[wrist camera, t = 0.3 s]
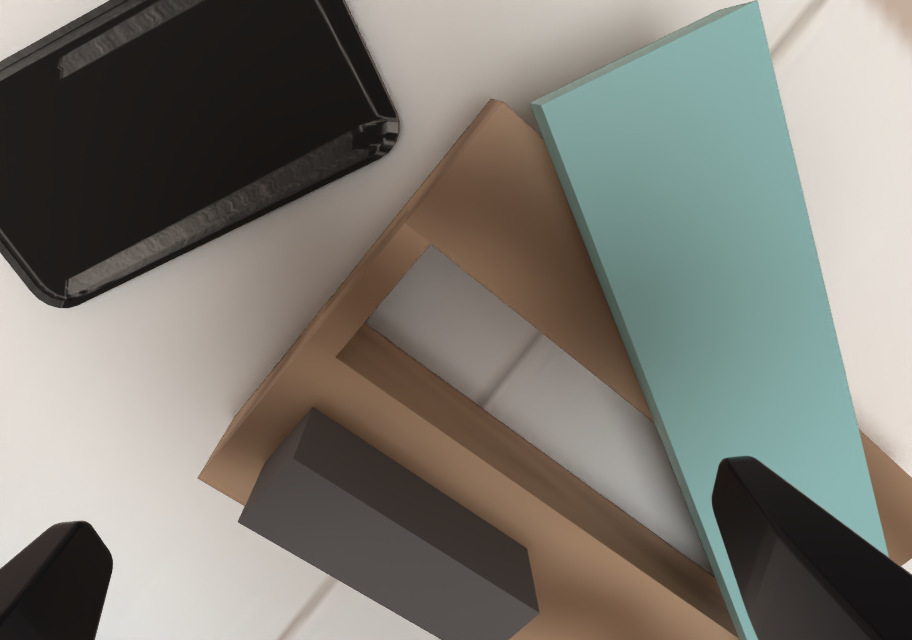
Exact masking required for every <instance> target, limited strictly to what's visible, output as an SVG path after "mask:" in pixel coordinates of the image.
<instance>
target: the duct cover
mask: <svg viewBox="0 0 912 640" xmlns="http://www.w3.org/2000/svg"><path fill="white" fill-rule="evenodd" d="M530 106H531V108H532V111H533V113H534V116H535V119H536V121H537V124H538V126H539V129H540V131H541V134H542V136H543V139H544V142H545V144H546V147H547V149H548V152H549V154H550V157H551V159H552V162H553V165H554V167H555V170H556V172H557V175H558V177H559V180H560V182H561V185H562V187H563V190H564V193H565V195H566V198H567V200H568V203H569V205H570V208H571V210H572V213H573V216H574V218H575V221H576V223H577V226H578V228H579V231H580V233H581V236H582V239H583V241H584V244H585V246H586V249H587V251H588V254H589V256H590V259H591V262H592V264H593V267H594V269H595V272H596V274H597V277H598V279H599V282H600V284H601V287H602V290H603V292H604V295H605V297H606V300H607V302H608V305H609V307H610V310H611V313H612V315H613V318H614V320H615V323H616V325H617V328H618V330H619V333H620V336H621V338H622V341H623V343H624V346H625V348H626V351H627V353H628V356H629V358H630V361H631V364H632V366H633V369H634V371H635V374H636V376H637V379H638V381H639V384H640V387H641V389H642V392H643V394H644V397H645V399H646V402H647V404H648V407H649V410H650V412H651V415H652V417H653V420H654V422H655V425H656V427H657V430H658V432H659V435H660V438H661V440H662V443H663V445H664V448H665V450H666V453H667V455H668V458H669V461H670V463H671V466H672V468H673V471H674V473H675V476H676V478H677V481H678V484H679V486H680V489H681V491H682V494H683V496H684V499H685V501H686V504H687V507H688V509H689V512H690V514H691V517H692V519H693V522H694V524H695V527H696V529H697V532H698V535H699V537H700V540H701V542H702V545H703V547H704V550H705V552H706V555H707V558H708V560H709V563H710V565H711V568H712V570H713V573H714V575H715V578H716V581H717V583H718V586H719V588H720V591H721V593H722V596H723V598H724V601H725V603H726V606H727V609H728V611H729V614H730V616H731V619H732V621H733V624H734V626H735V629H736V632H737V634H738V637H739V639H740V640H758V638H757V636H756V634H755V631H754V629H753V627H752V624H751V622H750V619H749V617H748V614H747V611H746V609H745V606H744V603H743V600H742V597H741V594H740V591H739V588H738V585H737V582H736V579H735V576H734V573H733V570H732V567H731V564H730V561H729V558H728V555H727V552H726V549H725V546H724V543H723V540H722V537H721V534H720V531H719V528H718V525H717V522H716V519H715V516H714V512H713V508H712V492H713V487H714V483H715V479H716V474H717V470H718V466H719V463H720V461H721V460H722V459H724V458H728V457H738V456H752V457H754V458H756V459H758V460H759V461H760V462H762V463H763V464H764V465H766V466H767V467H769V468H770V469H771V470H773V471H774V472H775V473H777V474H778V475H779V476H781V477H782V478H783V479H785V480H786V481H787V482H789V483H790V484H791V485H793V486H794V487H795V488H797V489H798V490H799V491H801V492H802V493H803V494H805V495H806V496H807V497H809V498H810V499H811V500H813V501H814V502H815V503H817V504H818V505H819V506H821V507H822V508H823V509H825V510H826V511H827V512H829V513H830V514H831V515H833V516H834V517H835V518H837V519H838V520H839V521H841V522H842V523H843V524H845V525H846V526H847V527H849V528H850V529H851V530H853V531H854V532H856V533H857V534H858V535H860V536H861V537H862V538H864V539H865V540H866V541H868V542H869V543H870V544H872V545H873V546H874V547H876V548H877V549H878V550H880V551H881V552H882V553H884V554H885V555H886V556H888V551H887V547H886V543H885V539H884V534H883V530H882V526H881V522H880V517H879V513H878V509H877V505H876V500H875V496H874V492H873V488H872V484H871V479H870V475H869V471H868V467H867V462H866V458H865V454H864V450H863V445H862V441H861V437H860V433H859V428H858V424H857V420H856V416H855V412H854V407H853V403H852V399H851V395H850V390H849V386H848V382H847V378H846V373H845V369H844V365H843V361H842V357H841V352H840V348H839V344H838V340H837V335H836V331H835V327H834V323H833V318H832V314H831V310H830V306H829V301H828V297H827V293H826V289H825V285H824V280H823V276H822V272H821V268H820V263H819V259H818V255H817V251H816V246H815V242H814V238H813V234H812V229H811V225H810V221H809V217H808V213H807V208H806V204H805V200H804V196H803V191H802V187H801V183H800V179H799V174H798V170H797V166H796V162H795V158H794V153H793V149H792V145H791V141H790V136H789V132H788V128H787V124H786V119H785V115H784V111H783V107H782V102H781V98H780V94H779V90H778V86H777V81H776V77H775V73H774V69H773V64H772V60H771V56H770V52H769V47H768V43H767V39H766V35H765V30H764V26H763V22H762V18H761V14H760V9H759V5H758V1H757V0H756V1H752V2H748V3H745V4H741V5H737V6H733V7H729V8H725V9H721V10H718V11H716V12H714V13H712V14H710V15H708V16H706V17H704V18H702V19H700V20H698V21H696V22H694V23H692V24H690V25H688V26H686V27H684V28H682V29H679V30H677V31H675V32H673V33H671V34H669V35H667V36H665V37H663V38H661V39H659V40H657V41H655V42H653V43H651V44H649V45H647V46H645V47H643V48H641V49H639V50H637V51H634V52H632V53H630V54H628V55H626V56H624V57H622V58H620V59H618V60H616V61H614V62H612V63H610V64H608V65H606V66H604V67H602V68H600V69H598V70H596V71H594V72H591V73H589V74H587V75H585V76H583V77H581V78H579V79H577V80H575V81H573V82H571V83H569V84H567V85H565V86H563V87H561V88H559V89H557V90H555V91H553V92H551V93H548V94H546V95H544V96H542V97H540V98H538V99H536V100H534V101H532V102H530ZM888 557H889V556H888Z"/></svg>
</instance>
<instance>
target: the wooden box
mask: <svg viewBox="0 0 912 640" xmlns="http://www.w3.org/2000/svg"><path fill="white" fill-rule="evenodd" d="M430 244H432V245H433V246H434V247H435V248H437V249H438V250H439V251H440V252H442V253H443V254H444V255H445V256H447V257H448V258H449V259H450V260H452V261H453V262H454V263H455V264H457V265H458V266H459V267H460V268H462V269H463V270H464V271H465V272H467V273H468V274H469V275H470V276H472V277H473V278H474V279H475V280H477V281H478V282H479V283H480V284H482V285H483V286H484V287H485V288H487V289H488V290H489V291H490V292H492V293H493V294H494V295H495V296H497V297H498V298H499V299H500V300H502V301H503V302H504V303H505V304H507V305H508V306H509V307H510V308H512V309H513V310H514V311H515V312H517V313H518V314H519V315H520V316H522V317H523V318H524V319H525V320H527V321H528V322H529V323H530V324H532V325H533V326H534V327H535V328H537V329H538V330H539V331H540V332H542V333H543V334H544V335H545V336H547V337H548V338H549V339H550V340H552V341H553V342H554V343H555V344H557V345H558V346H559V347H560V348H562V349H563V350H564V351H565V352H567V353H568V354H569V355H570V356H572V357H573V358H574V359H575V360H577V361H578V362H579V363H580V364H582V365H583V366H584V367H585V368H587V369H588V370H589V371H590V372H592V373H593V374H594V375H595V376H597V377H598V378H599V379H600V380H602V381H603V382H604V383H605V384H607V385H608V386H609V387H610V388H612V389H613V390H614V391H615V392H617V393H618V394H619V395H620V396H622V397H623V398H624V399H625V400H627V401H628V402H629V403H630V404H632V405H633V406H634V407H635V408H637V409H638V410H639V411H640V412H642V413H643V414H644V415H645V416H647V417H648V418H649V419H650V420H652V421H653V422H654V420H653V417H652V415H651V412H650V410H649V407H648V404H647V402H646V399H645V397H644V394H643V392H642V389H641V387H640V384H639V381H638V379H637V376H636V374H635V371H634V369H633V366H632V364H631V361H630V358H629V356H628V353H627V351H626V348H625V346H624V343H623V341H622V338H621V336H620V333H619V330H618V328H617V325H616V323H615V320H614V318H613V315H612V313H611V310H610V307H609V305H608V302H607V300H606V297H605V295H604V292H603V290H602V287H601V284H600V282H599V279H598V277H597V274H596V272H595V269H594V267H593V264H592V262H591V259H590V256H589V254H588V251H587V249H586V246H585V244H584V241H583V239H582V236H581V233H580V231H579V228H578V226H577V223H576V221H575V218H574V216H573V213H572V210H571V208H570V205H569V203H568V200H567V198H566V195H565V193H564V190H563V187H562V185H561V182H560V180H559V177H558V175H557V172H556V170H555V167H554V165H553V162H552V159H551V157H550V154H549V152H548V149H547V147H546V144H545V142H544V139H543V138H542V137H541V136H540V135H539V134H537V133H536V132H535V131H534V130H533V129H532V128H531V127H530V126H529V125H528V124H527V123H525V122H524V121H523V120H522V119H521V118H520V117H519V116H518V115H517V114H516V113H515V112H514V111H512V110H511V109H510V108H509V107H508V106H507V105H506V104H505V103H504V102H501V101H497V100H494V99H490V101H489V102H488V103H487V104H486V106H485V107H484V108H483V109H482V111H481V112H480V113H479V114H478V116H477V117H476V118H475V119H474V121H473V122H472V123H471V124H470V126H469V127H468V128H467V129H466V131H465V132H464V133H463V134H462V136H461V137H460V138H459V139H458V140H457V142H456V143H455V144H454V145H453V147H452V148H451V149H450V150H449V152H448V153H447V154H446V155H445V157H444V158H443V159H442V160H441V162H440V163H439V164H438V165H437V167H436V168H435V169H434V170H433V172H432V173H431V174H430V175H429V176H428V178H427V179H426V180H425V181H424V183H423V184H422V185H421V186H420V188H419V189H418V190H417V191H416V193H415V194H414V195H413V196H412V198H411V199H410V200H409V201H408V203H407V204H406V205H405V206H404V208H403V209H402V210H401V211H400V213H399V214H398V215H397V216H396V217H395V219H394V220H393V221H392V222H391V224H390V225H389V226H388V227H387V229H386V230H385V231H384V232H383V234H382V235H381V236H380V237H379V239H378V240H377V241H376V242H375V244H374V245H373V246H372V247H371V249H370V250H369V251H368V252H367V254H366V255H365V256H364V257H363V258H362V260H361V261H360V262H359V263H358V265H357V266H356V267H355V268H354V270H353V271H352V272H351V273H350V275H349V276H348V277H347V278H346V280H345V281H344V282H343V283H342V285H341V286H340V287H339V288H338V290H337V291H336V292H335V293H334V295H333V296H332V297H331V298H330V299H329V301H328V302H327V303H326V304H325V306H324V307H323V308H322V309H321V311H320V312H319V313H318V314H317V316H316V317H315V318H314V319H313V321H312V322H311V323H310V324H309V326H308V327H307V328H306V329H305V331H304V332H303V333H302V334H301V335H300V337H299V338H298V339H297V340H296V342H295V343H294V344H293V345H292V347H291V348H290V349H289V350H288V352H287V353H286V354H285V355H284V357H283V358H282V359H281V360H280V362H279V363H278V364H277V365H276V367H275V368H274V369H273V370H272V372H271V373H270V374H269V375H268V376H267V378H266V379H265V380H264V381H263V383H262V384H261V385H260V386H259V388H258V389H257V390H256V391H255V393H254V394H253V395H252V396H251V398H250V399H249V400H248V401H247V403H246V404H245V405H244V406H243V408H242V409H241V410H240V411H239V413H238V414H237V415H236V416H235V417H234V419H233V420H232V422H231V424H230V425H229V427H228V429H227V430H226V432H225V433H224V435H223V437H222V438H221V440H220V442H219V443H218V445H217V447H216V448H215V450H214V452H213V453H212V455H211V457H210V458H209V460H208V462H207V463H206V465H205V467H204V468H203V470H202V472H201V473H200V475H199V477H198V479H200V480H201V481H203V482H205V483H206V484H208V485H210V486H211V487H213V488H215V489H217V490H218V491H220V492H222V493H223V494H225V495H227V496H228V497H230V498H232V499H234V500H235V501H237V502H239V503H240V504H242V505H244V506H245V505H246V503H247V500H248V498H249V496H250V494H251V492H252V489H253V487H254V485H255V483H256V481H257V478H258V476H259V474H260V472H261V469H262V467H263V465H264V463H265V462H266V461H267V460H268V459H269V457H270V456H271V455H272V454H273V453H274V452H275V450H276V449H277V448H278V447H279V446H280V444H281V443H282V442H283V441H284V440H285V439H286V437H287V436H288V435H289V434H290V433H291V432H292V430H293V429H294V428H295V427H296V426H297V425H298V423H299V422H300V421H301V420H302V419H303V417H304V416H305V415H306V414H307V413H308V412H309V410H310V409H311V408H312V407H314V408H316V409H317V410H319V411H320V412H322V413H323V414H325V415H326V416H328V417H329V418H331V419H332V420H334V421H335V422H337V423H338V424H340V425H341V426H343V427H344V428H346V429H347V430H349V431H350V432H352V433H353V434H355V435H357V436H358V437H360V438H361V439H363V440H364V441H366V442H367V443H369V444H370V445H372V446H373V447H375V448H376V449H378V450H379V451H381V452H382V453H384V454H385V455H387V456H388V457H390V458H391V459H393V460H394V461H396V462H397V463H399V464H400V465H402V466H403V467H405V468H406V469H408V470H409V471H411V472H412V473H414V474H415V475H417V476H418V477H420V478H421V479H423V480H424V481H426V482H427V483H429V484H430V485H432V486H434V487H435V488H437V489H438V490H440V491H441V492H443V493H444V494H446V495H447V496H449V497H450V498H452V499H453V500H455V501H456V502H458V503H459V504H461V505H462V506H464V507H465V508H467V509H468V510H470V511H471V512H473V513H474V514H476V515H477V516H479V517H480V518H482V519H483V520H485V521H486V522H488V523H489V524H491V525H492V526H494V527H495V528H497V529H498V530H500V531H501V532H503V533H504V534H506V535H508V536H509V537H511V538H512V539H514V540H515V541H517V542H518V543H520V544H521V545H523V546H524V547H526V548H527V550H528V556H529V561H530V566H531V571H532V576H533V581H534V586H535V591H536V596H537V602H538V607H539V612H540V613H539V614H538V615H537V616H536V617H535V618H534V619H532V620H531V621H530V622H529V623H528V624H527V625H526V626H524V627H523V628H522V629H521V630H520V631H519V632H517V633H516V634H515V635H514V636H513V637H512V638H510V639H509V640H740V639H739V637H738V634H737V632H736V629H735V626H734V624H733V621H732V619H731V616H730V614H729V611H728V609H727V606H726V603H725V601H724V598H723V596H722V593H721V591H720V588H719V586H718V583H717V581H716V578H714V577H713V576H712V575H710V574H709V573H707V572H706V571H705V570H703V569H702V568H701V567H699V566H698V565H696V564H695V563H694V562H692V561H691V560H690V559H688V558H687V557H685V556H684V555H683V554H681V553H680V552H679V551H677V550H676V549H674V548H673V547H672V546H670V545H669V544H668V543H666V542H665V541H663V540H662V539H661V538H659V537H658V536H657V535H655V534H654V533H652V532H651V531H650V530H648V529H647V528H646V527H644V526H643V525H641V524H640V523H639V522H637V521H636V520H635V519H633V518H632V517H630V516H629V515H628V514H626V513H625V512H624V511H622V510H621V509H619V508H618V507H617V506H615V505H614V504H613V503H611V502H610V501H608V500H607V499H606V498H604V497H603V496H602V495H600V494H599V493H598V492H596V491H595V490H593V489H592V488H591V487H589V486H588V485H587V484H585V483H584V482H582V481H581V480H580V479H578V478H577V477H576V476H574V475H573V474H571V473H570V472H569V471H567V470H566V469H565V468H563V467H562V466H560V465H559V464H558V463H556V462H555V461H554V460H552V459H551V458H549V457H548V456H547V455H545V454H544V453H543V452H541V451H540V450H538V449H537V448H536V447H534V446H533V445H532V444H530V443H529V442H527V441H526V440H525V439H523V438H522V437H521V436H519V435H518V434H516V433H515V432H514V431H512V430H511V429H510V428H508V427H507V426H505V425H504V424H503V423H501V422H500V421H499V420H497V419H496V418H494V417H493V416H492V415H490V414H489V413H488V412H486V411H485V410H483V409H482V408H481V407H479V406H478V405H477V404H475V403H474V402H472V401H471V400H470V399H468V398H467V397H466V396H464V395H463V394H461V393H460V392H459V391H457V390H456V389H455V388H453V387H452V386H450V385H449V384H448V383H446V382H445V381H444V380H442V379H441V378H439V377H438V376H437V375H435V374H434V373H433V372H431V371H430V370H428V369H427V368H426V367H424V366H423V365H422V364H420V363H419V362H417V361H416V360H415V359H413V358H412V357H411V356H409V355H408V354H406V353H405V352H404V351H402V350H401V349H400V348H398V347H397V346H395V345H394V344H393V343H391V342H390V341H389V340H387V339H386V338H384V337H383V336H382V335H380V334H379V333H378V332H376V331H375V330H373V329H372V328H371V327H369V326H368V325H367V324H365V323H364V322H365V321H366V320H367V319H368V318H369V316H370V315H371V314H372V313H373V312H374V310H375V309H376V308H377V307H378V306H379V304H380V303H381V302H382V301H383V300H384V298H385V297H386V296H387V295H388V294H389V293H390V291H391V290H392V289H393V288H394V287H395V285H396V284H397V283H398V282H399V281H400V279H401V278H402V277H403V276H404V275H405V273H406V272H407V271H408V270H409V269H410V267H411V266H412V265H413V264H414V263H415V262H416V260H417V259H418V258H419V257H420V256H421V254H422V253H423V252H424V251H425V250H426V248H427V247H428V246H429V245H430ZM654 423H655V422H654ZM859 433H860V437H861V441H862V445H863V450H864V454H865V458H866V462H867V467H868V471H869V475H870V479H871V484H872V488H873V492H874V496H875V500H876V505H877V509H878V513H879V517H880V522H881V526H882V530H883V534H884V539H885V543H886V547H887V551H888V556H889V558H890V559H892V560H893V561H894V562H896V563H897V564H898V565H900V566H902V565H903V564H905V563H906V562H907V561H909V560H910V559H912V478H911V477H910V476H909V475H908V474H907V473H906V472H905V471H904V470H903V469H901V468H900V467H899V466H898V465H897V464H896V463H895V462H894V461H893V460H892V459H891V458H890V457H888V456H887V455H886V454H885V453H884V452H883V451H882V450H881V449H880V448H879V447H878V446H877V445H875V444H874V443H873V442H872V441H871V440H870V439H869V438H868V437H867V436H866V435H865V434H863V433H862V432H861V431H860V430H859Z"/></svg>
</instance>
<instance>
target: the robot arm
mask: <svg viewBox="0 0 912 640" xmlns="http://www.w3.org/2000/svg"><path fill="white" fill-rule="evenodd" d="M712 508H713V512H714V516H715V519H716V522H717V525H718V528H719V531H720V534H721V537H722V540H723V543H724V546H725V549H726V552H727V555H728V558H729V561H730V564H731V567H732V570H733V573H734V576H735V579H736V582H737V585H738V588H739V591H740V594H741V597H742V600H743V603H744V606H745V609H746V611H747V614H748V617H749V619H750V622H751V624H752V627H753V629H754V631H755V634H756V636H757V638H758V640H912V574H910V573H909V572H908V571H906V570H905V569H904V568H902V567H901V566H900V565H898V564H897V563H896V562H894V561H893V560H892V559H890V558H889V557H888V556H886V555H885V554H884V553H882V552H881V551H880V550H878V549H877V548H876V547H874V546H873V545H872V544H870V543H869V542H868V541H866V540H865V539H864V538H862V537H861V536H860V535H858V534H857V533H856V532H854V531H853V530H851V529H850V528H849V527H847V526H846V525H845V524H843V523H842V522H841V521H839V520H838V519H837V518H835V517H834V516H833V515H831V514H830V513H829V512H827V511H826V510H825V509H823V508H822V507H821V506H819V505H818V504H817V503H815V502H814V501H813V500H811V499H810V498H809V497H807V496H806V495H805V494H803V493H802V492H801V491H799V490H798V489H797V488H795V487H794V486H793V485H791V484H790V483H789V482H787V481H786V480H785V479H783V478H782V477H781V476H779V475H778V474H777V473H775V472H774V471H773V470H771V469H770V468H769V467H767V466H766V465H764V464H763V463H762V462H760V461H759V460H758V459H756V458H754V457H752V456H738V457H728V458H724V459H722V460H721V461H720V463H719V466H718V470H717V474H716V479H715V483H714V487H713V492H712ZM112 569H113V559H112V555H111V553H110V551H109V550H108V548H107V547H106V545H105V544H104V542H103V541H102V540H101V538H100V537H99V535H98V534H97V532H96V531H95V530H94V528H93V527H92V526H91V524H89V523H88V522H86V521H73V522H62V523H58V524H55V525H53V526H51V527H50V528H48V529H47V530H46V531H45V532H43V533H42V534H41V535H40V536H39V537H38V538H36V539H35V540H34V541H33V542H32V543H30V544H29V545H28V546H27V547H26V548H24V549H23V550H22V551H21V552H20V553H19V554H17V555H16V556H15V557H14V558H13V559H11V560H10V561H9V562H8V563H7V564H5V565H4V566H3V567H2V568H1V569H0V640H95V637H96V633H97V629H98V625H99V621H100V617H101V613H102V609H103V606H104V602H105V598H106V594H107V590H108V586H109V582H110V578H111V574H112Z"/></svg>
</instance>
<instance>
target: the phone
mask: <svg viewBox="0 0 912 640" xmlns="http://www.w3.org/2000/svg"><path fill="white" fill-rule="evenodd" d="M398 134H399V118H398V115H397V111H396V109H395V107H394V105H393V102H392V100H391V98H390V96H389V94H388V92H387V90H386V88H385V85H384V83H383V81H382V79H381V77H380V75H379V73H378V71H377V68H376V66H375V64H374V62H373V60H372V58H371V56H370V53H369V51H368V49H367V47H366V45H365V43H364V41H363V39H362V36H361V34H360V32H359V30H358V28H357V26H356V24H355V22H354V19H353V17H352V15H351V13H350V11H349V9H348V7H347V5H346V2H345V0H109V1H108V2H106V3H104V4H102V5H101V6H99V7H97V8H95V9H93V10H92V11H90V12H88V13H86V14H84V15H83V16H81V17H79V18H77V19H76V20H74V21H72V22H70V23H68V24H67V25H65V26H63V27H61V28H60V29H58V30H56V31H54V32H52V33H51V34H49V35H47V36H45V37H43V38H42V39H40V40H38V41H36V42H35V43H33V44H31V45H29V46H27V47H26V48H24V49H22V50H20V51H18V52H17V53H15V54H13V55H11V56H10V57H8V58H6V59H4V60H2V61H1V62H0V253H1V254H2V255H3V257H4V258H5V259H6V260H7V262H8V263H9V264H10V265H11V267H12V268H13V269H14V271H15V272H16V273H17V274H18V276H19V277H20V278H21V279H22V281H23V282H24V283H25V285H26V286H27V287H28V288H29V290H30V291H31V292H32V293H33V294H34V295H35V296H36V297H37V298H38V299H39V300H41V301H43V302H44V303H46V304H48V305H51V306H54V307H57V308H71V307H74V306H77V305H80V304H82V303H84V302H86V301H88V300H90V299H92V298H94V297H96V296H98V295H100V294H102V293H104V292H106V291H108V290H110V289H112V288H115V287H117V286H119V285H121V284H123V283H125V282H127V281H129V280H131V279H133V278H135V277H137V276H139V275H141V274H143V273H145V272H147V271H150V270H152V269H154V268H156V267H158V266H160V265H162V264H164V263H166V262H168V261H170V260H172V259H174V258H176V257H178V256H180V255H182V254H185V253H187V252H189V251H191V250H193V249H195V248H197V247H199V246H201V245H203V244H205V243H207V242H209V241H211V240H213V239H215V238H217V237H220V236H222V235H224V234H226V233H228V232H230V231H232V230H234V229H236V228H238V227H240V226H242V225H244V224H246V223H248V222H250V221H252V220H255V219H257V218H259V217H261V216H263V215H265V214H267V213H269V212H271V211H273V210H275V209H277V208H279V207H281V206H283V205H285V204H287V203H290V202H292V201H294V200H296V199H298V198H300V197H302V196H304V195H306V194H308V193H310V192H312V191H314V190H316V189H318V188H320V187H322V186H325V185H327V184H329V183H331V182H333V181H335V180H337V179H339V178H341V177H343V176H345V175H347V174H349V173H351V172H353V171H355V170H357V169H360V168H362V167H364V166H366V165H368V164H370V163H372V162H374V161H376V160H378V159H380V158H381V157H383V156H384V155H386V154H387V153H389V151H390V150H391V148H392V147H393V146H394V144H395V143H396V141H397V138H398Z"/></svg>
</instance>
